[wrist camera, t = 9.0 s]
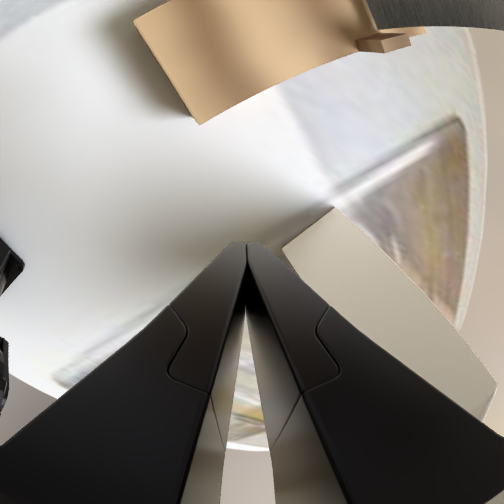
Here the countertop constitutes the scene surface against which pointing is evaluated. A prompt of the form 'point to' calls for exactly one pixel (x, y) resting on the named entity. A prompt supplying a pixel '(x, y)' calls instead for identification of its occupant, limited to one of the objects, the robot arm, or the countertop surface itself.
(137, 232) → the countertop surface
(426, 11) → the lever cap
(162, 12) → the body
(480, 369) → the milk
